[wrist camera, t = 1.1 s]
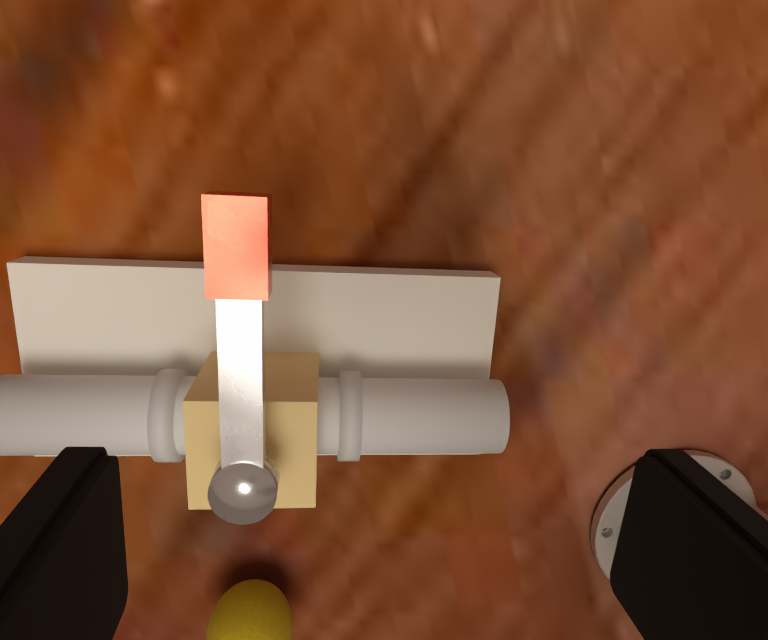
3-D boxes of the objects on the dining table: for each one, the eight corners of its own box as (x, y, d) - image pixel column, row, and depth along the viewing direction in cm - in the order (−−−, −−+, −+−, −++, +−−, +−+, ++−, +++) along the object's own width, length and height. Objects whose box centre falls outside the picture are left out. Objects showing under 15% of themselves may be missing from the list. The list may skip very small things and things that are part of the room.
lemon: (227, 548, 40) (203, 643, 32) (303, 562, 41) (298, 657, 33) (211, 610, 41) (184, 715, 33) (284, 622, 42) (275, 726, 34)
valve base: (491, 271, 36) (555, 317, 26) (473, 439, 39) (523, 538, 29) (25, 256, 33) (-109, 302, 23) (49, 440, 36) (-58, 551, 26)
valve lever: (279, 502, 27) (276, 526, 25) (215, 503, 26) (207, 528, 25) (279, 194, 23) (275, 197, 21) (203, 190, 22) (192, 193, 21)
